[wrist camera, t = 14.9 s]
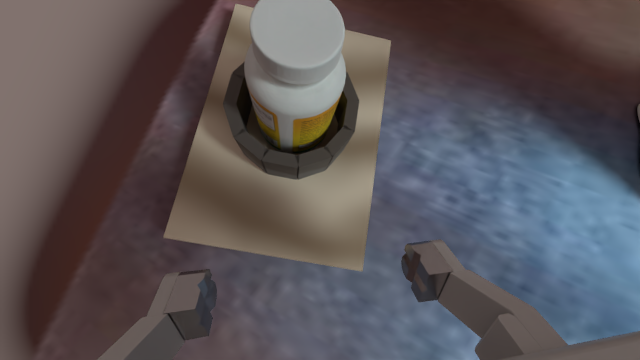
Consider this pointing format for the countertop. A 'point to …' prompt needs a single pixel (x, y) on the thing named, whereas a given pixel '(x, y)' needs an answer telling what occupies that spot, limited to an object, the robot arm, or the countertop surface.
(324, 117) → the supplement bottle
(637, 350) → the robot arm
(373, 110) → the collar stand
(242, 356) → the countertop surface
